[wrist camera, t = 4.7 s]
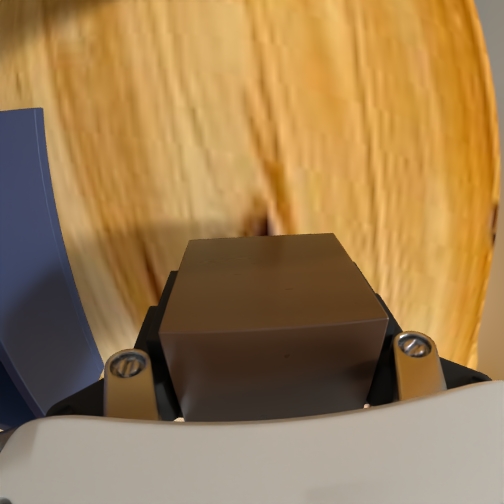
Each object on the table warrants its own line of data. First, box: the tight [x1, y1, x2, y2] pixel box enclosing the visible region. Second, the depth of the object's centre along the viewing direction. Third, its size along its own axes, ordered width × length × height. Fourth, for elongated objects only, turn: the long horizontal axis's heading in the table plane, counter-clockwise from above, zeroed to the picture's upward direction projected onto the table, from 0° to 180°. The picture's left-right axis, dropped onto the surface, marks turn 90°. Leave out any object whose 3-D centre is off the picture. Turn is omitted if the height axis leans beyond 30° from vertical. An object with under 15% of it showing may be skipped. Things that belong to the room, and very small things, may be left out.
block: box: [158, 233, 389, 422], centre depth 10 cm, size 5×5×5 cm
